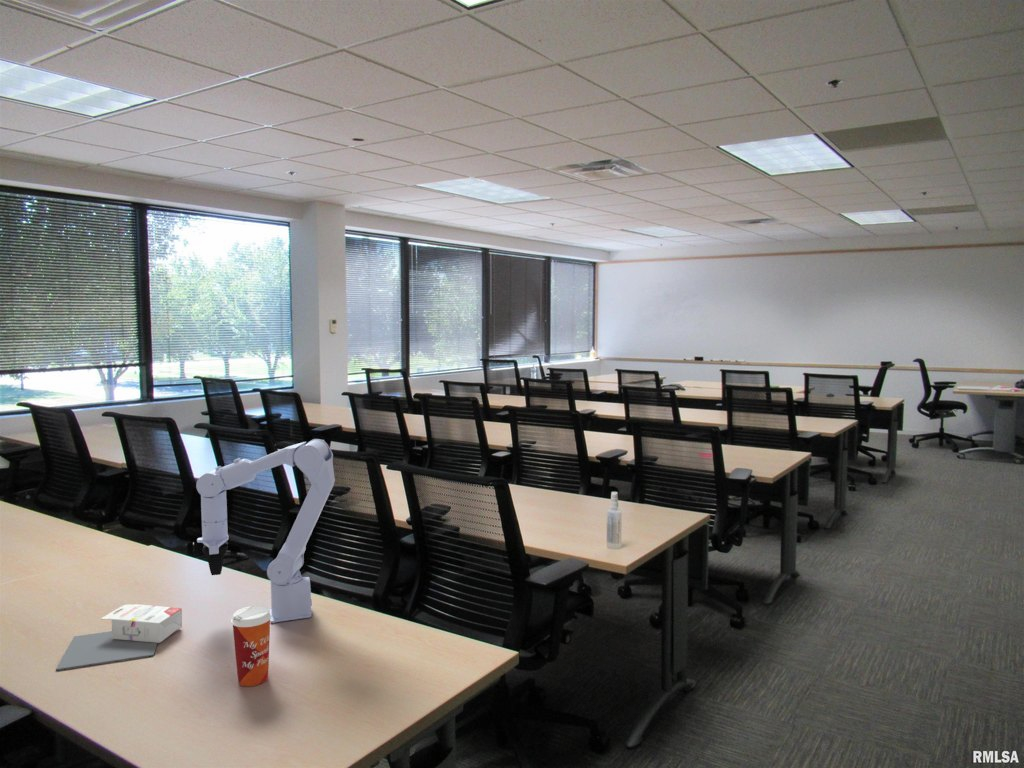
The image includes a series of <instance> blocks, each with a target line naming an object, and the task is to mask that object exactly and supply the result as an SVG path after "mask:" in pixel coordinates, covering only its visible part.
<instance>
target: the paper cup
mask: <svg viewBox="0 0 1024 768" xmlns="http://www.w3.org/2000/svg"><path fill="white" fill-rule="evenodd" d="M269 610H270V609H269V607H266V606H263V605H250V606H245V607H241V608H240V609H237V610H236V611H234V613H233V614H232V617H231V619H230V624H231V625H232V629H233V630H232V631H233V641H234V642H233V643H234V652H235V664H236V665H235V666H236V673H237V681H238V684H239V685H240V686H241V687H249V688H250V687H255V686H260V685H261V684H263V683H265V682H266V681H267V680H268V677H269V666H270V665H269V661H270V659H269V658H270V632H271V631H270V629H271V622H270V619H271V617H272V615H271V613H270V611H269Z"/></svg>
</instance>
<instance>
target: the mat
mask: <svg viewBox="0 0 1024 768" xmlns="http://www.w3.org/2000/svg"><path fill="white" fill-rule="evenodd" d="M156 646H158V643H155V642H143V641H131V640H119V639H112V630H111V631H104V632H97V633H89V634H88V633H87V634H81V635H75V636H73V638H72V640H71V642H70V643H69V645H68V647H67V649H66V651H65V652H64V653H63V656H62V657H61V658H60V660H59V663H58V665H57V666H56V668H55V671H56V672H58V670H59V671H64V669H66V670H71V669H72V668H73V669H77V668H78V667H79V668H84V667H83V666H86V667H90V666H89V665H92V666H98V665H97V664H99V665H103V664H104V665H105V664H110V663H109V662H112V663H116V662H115V661H118V662H122V661H121V660H125V661H130V660H129V659H132V660H135V658H138V659H143V657H145V658H150V657H149V656H151V657H154V656H155V654H156V649H157V647H156ZM154 653H155V654H154Z"/></svg>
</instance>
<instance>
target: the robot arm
mask: <svg viewBox="0 0 1024 768" xmlns="http://www.w3.org/2000/svg"><path fill="white" fill-rule="evenodd" d="M333 460H334V454H333V452H332V449H331V448H330V446H329V444H328V443H327V442H326V441H325V440H323V439H319V438H313V439H311V440H310V441H308V442H307V441H302V442H300V443H296V444H295V443H294V444H292V445H288V446H286V447H284V448H281V449H279V450H276V451H274V452H271V453H269V454H267V455H264V456H262V457H260V458H258V459H257V458H256V459H254V460H250V459H248V458H242V459H241V457H237V458H236V459H233V463H229V464H227V465H224V466H221V465H219V466H216V467H215V469H213V470H210V471H209V472H206V473H203V475H201V476H200V477H198V479H197V481H196V485H195V488H196V490H197V492H198V494H199V495H200V508H201V509H200V512H201V515H200V516H201V535H202V536H201V537H198V538H197V539H196V542H197V543H199V544H200V543H201V544H203V547H202V550H201V551H202V553H203V555H204V557H205V558H206V560H207V563H208V567H209V572H210V575H211V576H219V575H221V574H222V571H223V564H224V560H225V555H226V553H227V550H228V549H229V548H228V547H229V542H228V540H229V536H230V535H229V533H228V530H229V529H228V506H227V504H228V502H227V501H228V499H227V490H232V489H235V488H237V487H239V486H242V485H245V484H247V483H251V482H252V481H254V480H255V479H256V476H257V475H258V474H259V473H262V472H264V471H267V470H270V469H273V468H276V467H279V466H282V465H287V466H289V467H292V468H293V467H295V466H296V468H298V469H299V470H300V471H301V472H302V473H303V474H304V475H305V476H306V477H307V480H309V483H310V484H311V485H310V487H309V490H308V492H307V494H306V496H305V498H304V501H303V503H302V505H301V507H300V510H299V512H298V513H297V516H296V519H295V520H294V522H293V525H292V527H291V529H290V531H289V533H288V535H287V538H286V540H285V542H284V543H283V545H282V547H281V549H280V550H279V552H278V554H277V556H276V558H274V559H273V560H272V561H271V562H270V563H269V564H268V566H267V570H266V575H267V578H268V579H269V580H270V599H271V603H270V605H271V608H270V609H269V612H270V613H271V615H272V617H271V619H270V624H271V623H272V624H273V623H280V622H287V621H292V620H293V621H294V620H302V619H307V618H311V617H312V607H313V605H312V604H313V602H312V594H311V593H312V591H311V590H312V588H311V580H310V577H309V576H302V573H301V571H300V569H301V568H302V567H303V565H304V563H305V561H304V560H305V558H304V556H305V555H304V554H305V551H306V549H307V547H306V546H307V543H308V542H309V540H310V537H311V536H312V533H313V530H314V528H315V527H316V524H317V523H318V520H319V517H320V515H321V514H322V511H323V508H324V506H325V505H326V502H327V500H328V499H329V496H330V493H331V491H332V490H333V487H334V485H335V481H336V479H335V478H336V477H335V470H334V463H333V462H334V461H333Z"/></svg>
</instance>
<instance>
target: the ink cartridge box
mask: <svg viewBox="0 0 1024 768" xmlns="http://www.w3.org/2000/svg"><path fill="white" fill-rule="evenodd" d="M182 611H183V610H182V608H180V607H172V606H171V607H170V606H162V605H161V606H160V605H150V604H149V605H148V604H138V603H137V604H136V603H135V604H123V605H121V606H120V607H117V608H116V609H114V610H113V611H111V612H109V613H107V614H106V615H104V616H103V617H101V618H100V619H101V620H102V621H103V620H111V631H112V639H119V640H131V641H143V642H155V643H157V644H160V643H162V642H163V641H164V640H165V639H168V638H169V637H170V636H171V635H172V634H174V633H175V632H178V630H179V629H181V628H182V627H183V624H182V623H183V617H182V616H183V615H182V614H183V613H182Z"/></svg>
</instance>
